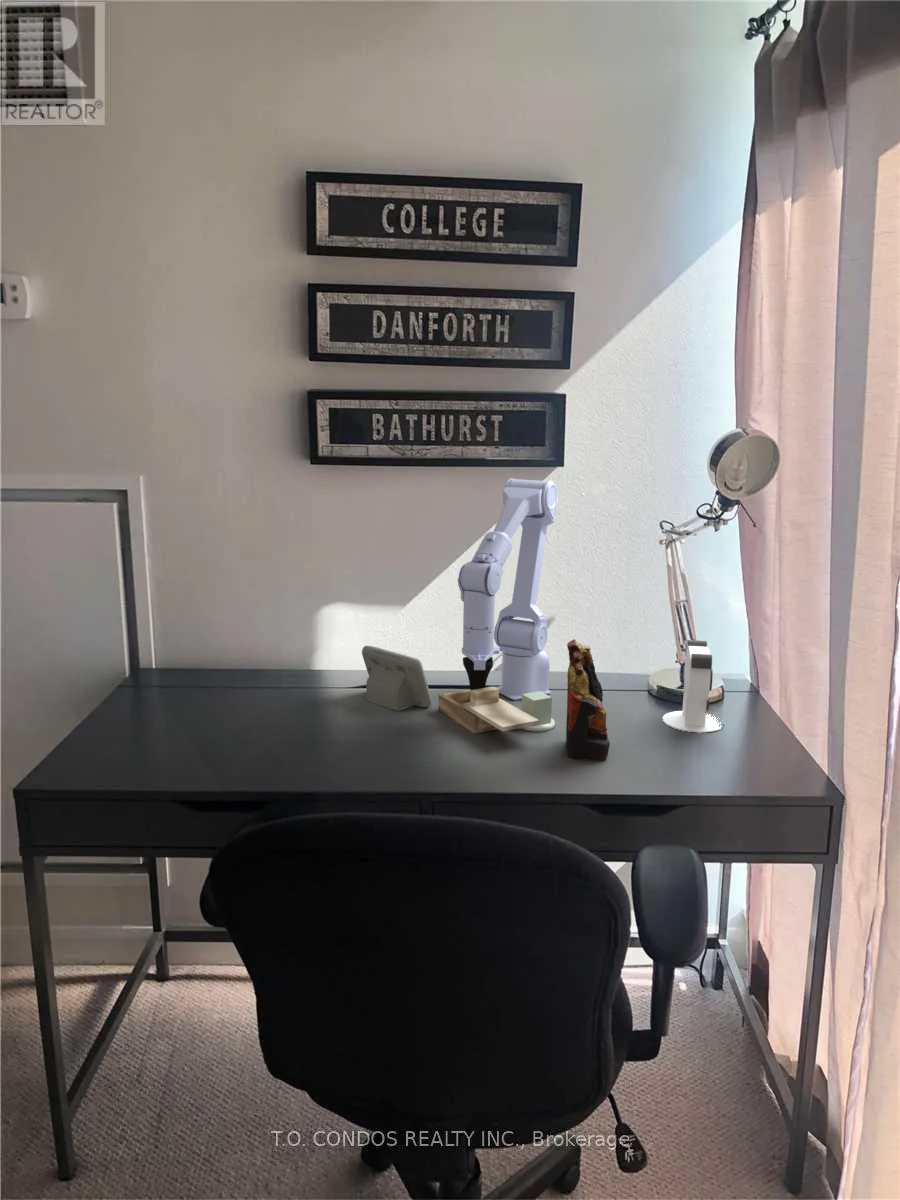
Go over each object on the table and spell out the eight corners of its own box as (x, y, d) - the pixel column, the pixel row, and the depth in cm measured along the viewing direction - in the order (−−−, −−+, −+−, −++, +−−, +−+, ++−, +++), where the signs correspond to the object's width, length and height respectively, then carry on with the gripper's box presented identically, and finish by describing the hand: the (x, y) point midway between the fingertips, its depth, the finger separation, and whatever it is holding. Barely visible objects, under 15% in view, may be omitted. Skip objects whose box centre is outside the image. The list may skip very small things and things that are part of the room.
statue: (608, 764, 152) (614, 650, 147) (561, 760, 153) (565, 647, 148) (609, 737, 163) (615, 631, 159) (565, 734, 165) (569, 628, 160)
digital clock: (436, 708, 177) (436, 656, 175) (397, 717, 172) (397, 664, 170) (391, 687, 190) (391, 638, 188) (354, 695, 185) (354, 645, 182)
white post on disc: (727, 736, 164) (734, 657, 161) (664, 732, 166) (669, 654, 163) (720, 714, 176) (726, 640, 173) (660, 710, 178) (665, 637, 174)
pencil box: (473, 704, 180) (474, 688, 179) (511, 726, 168) (511, 710, 167) (438, 710, 176) (438, 694, 175) (474, 733, 164) (474, 716, 164)
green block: (539, 716, 171) (539, 691, 170) (550, 722, 168) (551, 697, 167) (521, 719, 169) (522, 694, 168) (532, 726, 166) (533, 700, 165)
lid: (497, 701, 171) (497, 684, 170) (538, 724, 159) (539, 706, 159) (462, 707, 168) (463, 690, 167) (502, 731, 156) (503, 713, 155)
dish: (540, 716, 173) (541, 712, 173) (562, 728, 167) (562, 724, 167) (510, 722, 170) (510, 718, 170) (530, 734, 164) (530, 730, 164)
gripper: (502, 636, 160) (500, 708, 163) (497, 617, 174) (495, 683, 177) (463, 636, 160) (461, 708, 163) (461, 616, 174) (460, 683, 177)
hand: (477, 695), depth 170 cm, fingers closed
